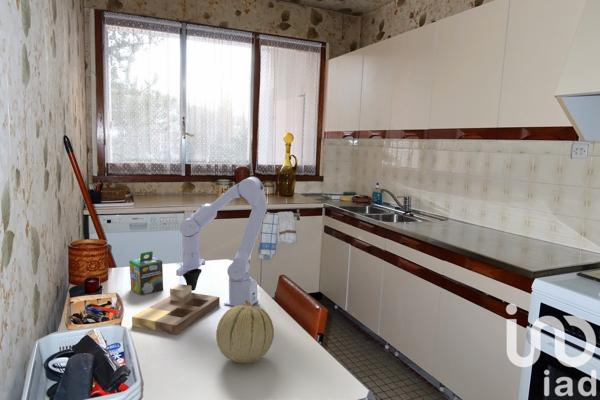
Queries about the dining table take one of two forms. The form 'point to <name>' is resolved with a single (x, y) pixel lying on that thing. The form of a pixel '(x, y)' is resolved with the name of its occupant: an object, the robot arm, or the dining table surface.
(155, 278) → the chalk box
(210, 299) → the board
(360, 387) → the dining table surface
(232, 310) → the cantaloupe
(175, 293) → the maple block
